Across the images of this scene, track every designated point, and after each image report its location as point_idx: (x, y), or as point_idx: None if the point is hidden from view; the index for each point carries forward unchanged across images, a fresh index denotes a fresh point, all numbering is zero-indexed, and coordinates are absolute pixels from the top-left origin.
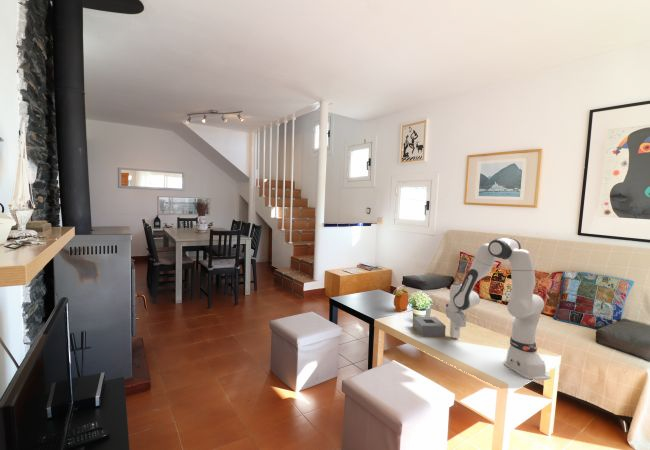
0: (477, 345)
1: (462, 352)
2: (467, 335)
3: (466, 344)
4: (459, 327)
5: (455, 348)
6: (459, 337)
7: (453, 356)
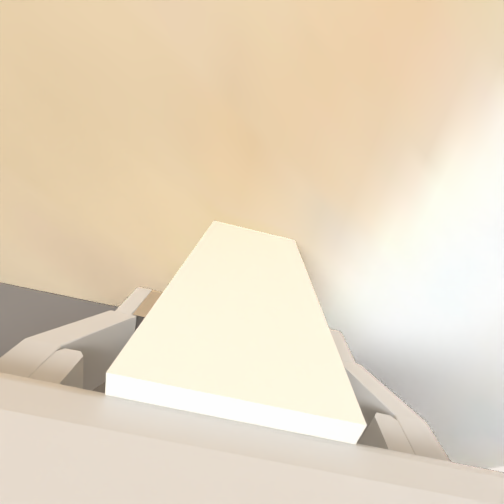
0: (500, 138)
1: (499, 383)
2: (217, 19)
3: (416, 248)
4: (375, 384)
5: (422, 387)
6: (294, 241)
7: (497, 462)
